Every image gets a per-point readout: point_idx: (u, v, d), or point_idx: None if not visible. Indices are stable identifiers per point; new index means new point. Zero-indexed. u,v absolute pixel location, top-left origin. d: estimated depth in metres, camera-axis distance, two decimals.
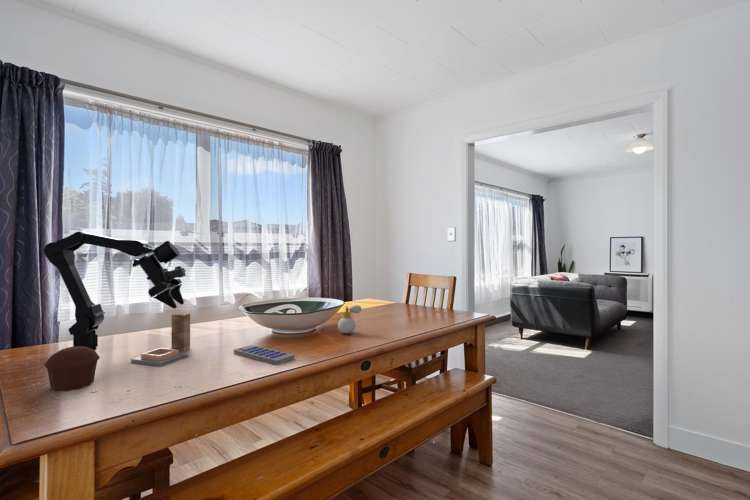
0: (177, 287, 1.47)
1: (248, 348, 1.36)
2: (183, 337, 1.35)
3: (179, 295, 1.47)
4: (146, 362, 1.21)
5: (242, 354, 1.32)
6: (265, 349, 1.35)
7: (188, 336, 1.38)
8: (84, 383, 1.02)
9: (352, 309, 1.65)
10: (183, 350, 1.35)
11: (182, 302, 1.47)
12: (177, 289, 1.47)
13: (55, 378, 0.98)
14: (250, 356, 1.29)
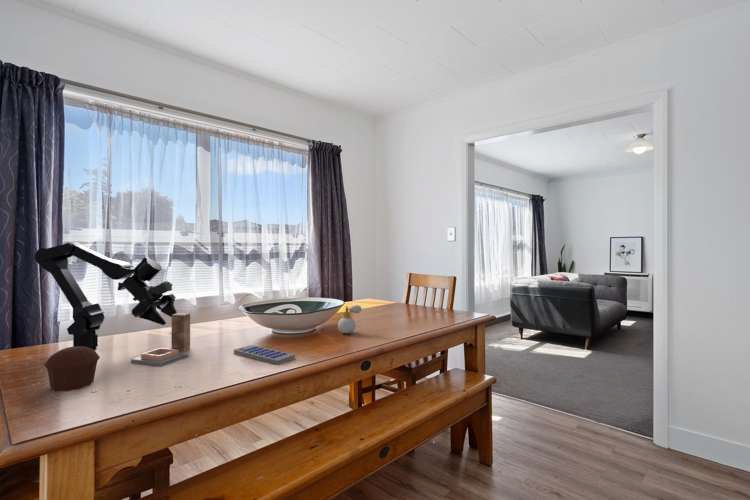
0: (169, 303, 1.42)
1: (248, 348, 1.36)
2: (183, 337, 1.35)
3: (173, 310, 1.42)
4: (146, 362, 1.21)
5: (242, 354, 1.31)
6: (265, 349, 1.35)
7: (188, 336, 1.38)
8: (84, 383, 1.02)
9: (352, 309, 1.65)
10: (183, 350, 1.35)
11: None
12: (170, 305, 1.42)
13: (55, 378, 0.98)
14: (250, 356, 1.29)
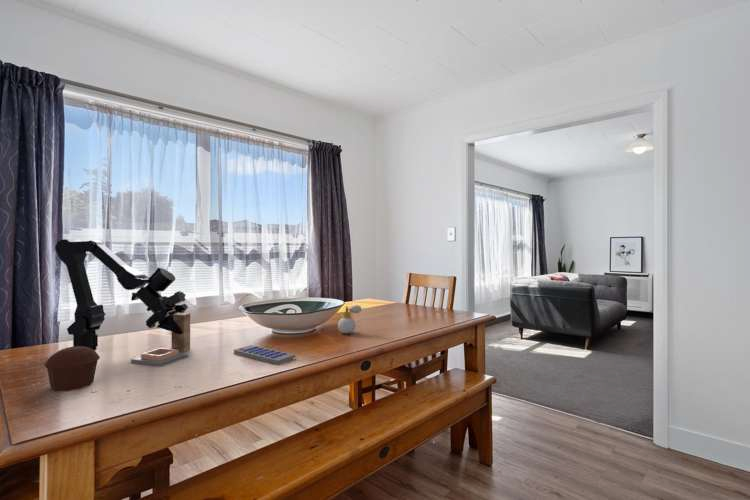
0: None
1: (248, 348, 1.36)
2: (183, 337, 1.35)
3: None
4: (146, 362, 1.21)
5: (242, 354, 1.31)
6: (265, 349, 1.35)
7: (188, 336, 1.38)
8: (84, 383, 1.02)
9: (352, 309, 1.65)
10: (183, 350, 1.35)
11: None
12: None
13: (55, 378, 0.98)
14: (250, 356, 1.29)
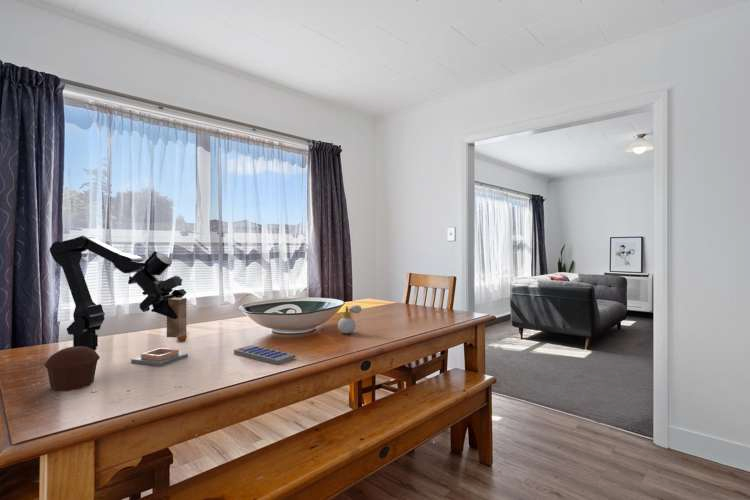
0: None
1: (248, 348, 1.36)
2: (178, 322, 1.32)
3: None
4: (146, 362, 1.21)
5: (242, 354, 1.31)
6: (265, 349, 1.35)
7: (184, 321, 1.35)
8: (84, 383, 1.02)
9: (352, 309, 1.65)
10: (178, 335, 1.32)
11: None
12: None
13: (55, 378, 0.98)
14: (250, 356, 1.29)
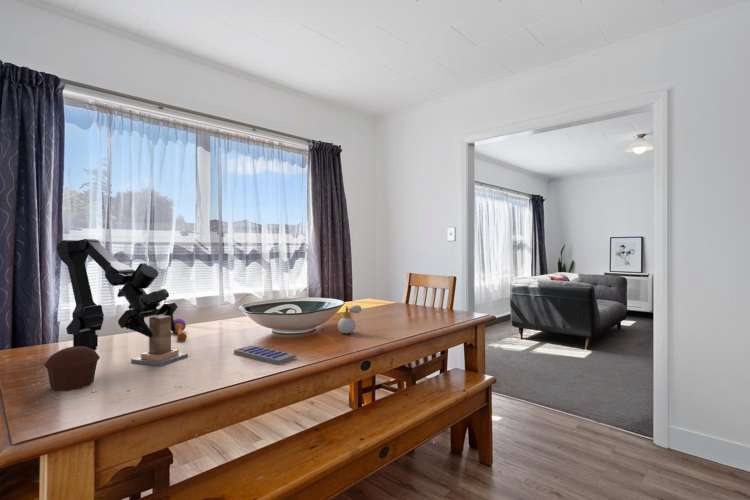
0: (167, 312, 1.32)
1: (248, 348, 1.36)
2: (159, 342, 1.24)
3: None
4: (146, 362, 1.21)
5: (243, 354, 1.31)
6: (265, 349, 1.35)
7: (168, 341, 1.27)
8: (84, 383, 1.02)
9: (352, 309, 1.65)
10: None
11: (173, 329, 1.30)
12: (168, 315, 1.32)
13: (55, 378, 0.98)
14: (251, 356, 1.29)
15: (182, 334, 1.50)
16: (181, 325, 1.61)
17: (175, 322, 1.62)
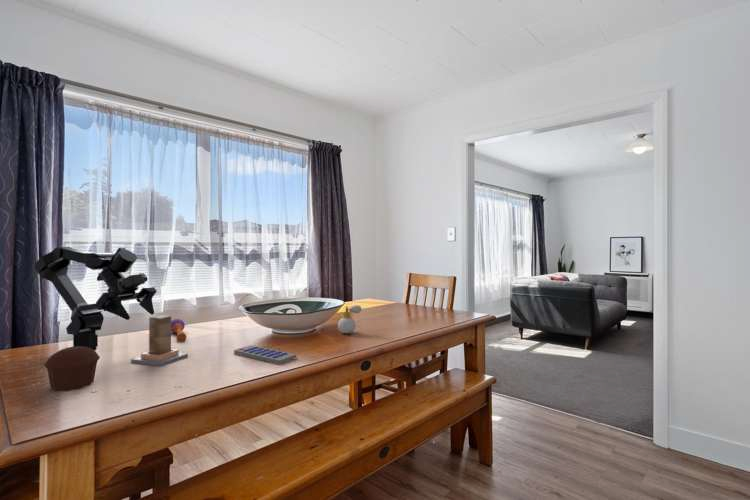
0: (146, 296, 1.35)
1: (248, 348, 1.36)
2: (159, 342, 1.24)
3: (149, 305, 1.34)
4: (146, 362, 1.21)
5: (243, 354, 1.31)
6: (266, 349, 1.35)
7: (168, 341, 1.27)
8: (84, 383, 1.02)
9: (352, 309, 1.65)
10: None
11: (152, 312, 1.33)
12: (147, 298, 1.35)
13: (55, 378, 0.98)
14: (251, 356, 1.29)
15: (182, 334, 1.50)
16: (180, 325, 1.61)
17: (174, 322, 1.62)
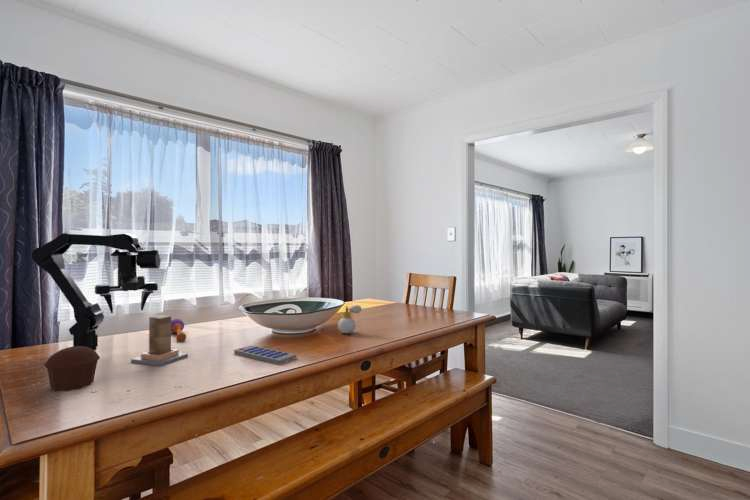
0: (144, 293, 1.42)
1: (248, 348, 1.36)
2: (159, 342, 1.24)
3: (142, 301, 1.42)
4: (146, 362, 1.21)
5: (243, 354, 1.31)
6: (266, 349, 1.35)
7: (168, 341, 1.27)
8: (84, 383, 1.02)
9: (352, 309, 1.65)
10: None
11: (141, 308, 1.43)
12: (143, 295, 1.42)
13: (55, 378, 0.98)
14: (251, 356, 1.29)
15: (182, 334, 1.50)
16: (180, 325, 1.61)
17: (174, 322, 1.62)
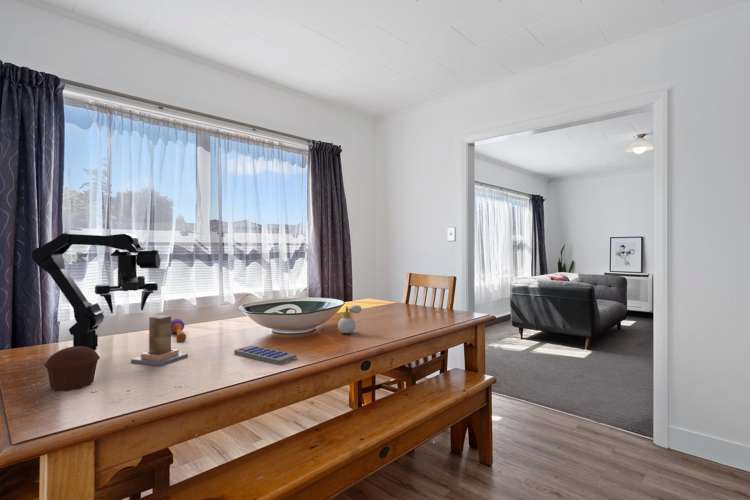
0: (144, 293, 1.42)
1: (248, 348, 1.36)
2: (159, 342, 1.24)
3: (142, 301, 1.42)
4: (146, 362, 1.21)
5: (243, 354, 1.31)
6: (266, 349, 1.35)
7: (168, 341, 1.27)
8: (84, 383, 1.02)
9: (352, 309, 1.65)
10: None
11: (141, 308, 1.43)
12: (143, 295, 1.42)
13: (55, 378, 0.98)
14: (251, 356, 1.29)
15: (182, 334, 1.50)
16: (180, 325, 1.61)
17: (174, 322, 1.62)
